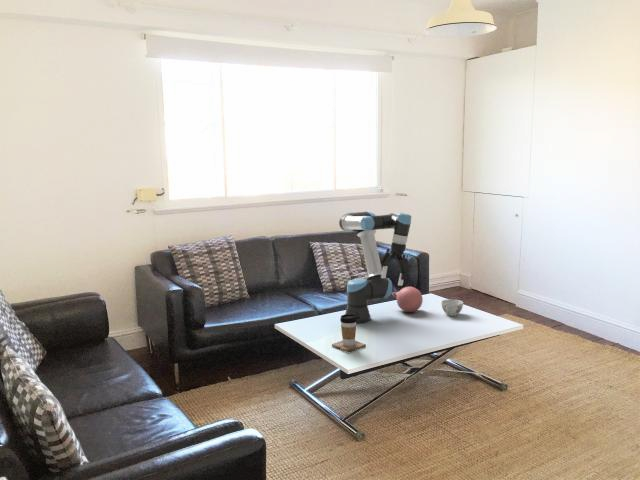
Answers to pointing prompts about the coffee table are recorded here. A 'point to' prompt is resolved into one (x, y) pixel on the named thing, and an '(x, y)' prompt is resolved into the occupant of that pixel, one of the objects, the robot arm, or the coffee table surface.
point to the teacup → (452, 307)
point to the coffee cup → (348, 329)
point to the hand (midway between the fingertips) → (391, 281)
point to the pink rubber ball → (408, 299)
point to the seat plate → (349, 348)
